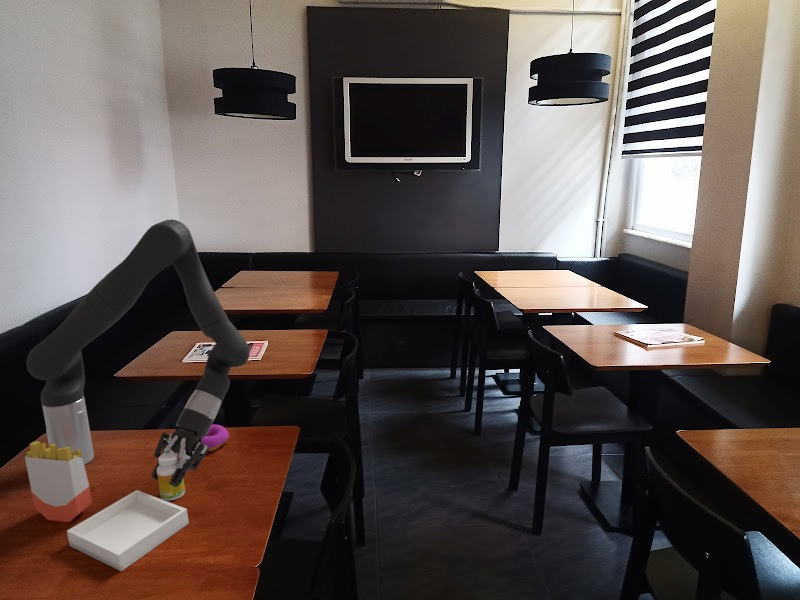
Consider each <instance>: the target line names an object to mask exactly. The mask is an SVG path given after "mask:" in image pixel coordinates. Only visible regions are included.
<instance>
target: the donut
mask: <svg viewBox="0 0 800 600" xmlns="http://www.w3.org/2000/svg"><path fill="white" fill-rule="evenodd" d="M229 437H230V433H229V432H228V430H227V428H225V426H223V425H220V424H212V425H211V427H210V429H209V431H208V433H207V435H206V436H205V437H203V438H202V444H204V445H206V446H208V447H209V450H208V452H214V451H216V450H218V449H219V448H220V447H221V446H223V445H224V444H226V442H227V441H228V439H229ZM208 452H207V453H208Z"/></svg>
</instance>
